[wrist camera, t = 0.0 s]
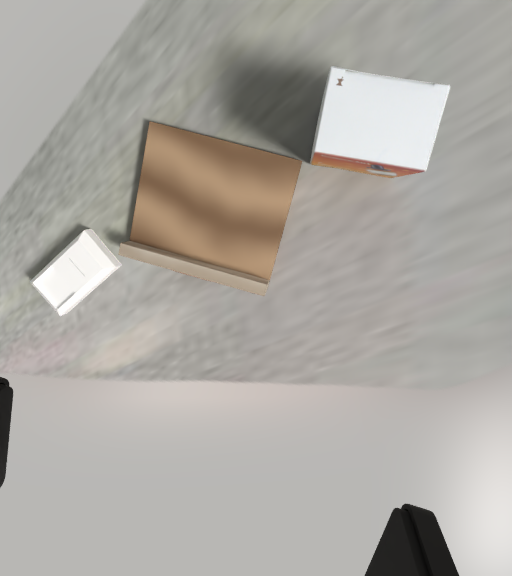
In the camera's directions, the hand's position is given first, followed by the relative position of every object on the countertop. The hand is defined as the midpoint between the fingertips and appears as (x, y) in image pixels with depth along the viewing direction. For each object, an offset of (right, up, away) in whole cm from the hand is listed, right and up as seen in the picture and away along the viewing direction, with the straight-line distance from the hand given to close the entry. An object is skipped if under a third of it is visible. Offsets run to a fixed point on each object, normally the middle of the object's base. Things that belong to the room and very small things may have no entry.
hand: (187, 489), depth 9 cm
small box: (+11, +18, +27) cm, 34 cm away
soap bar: (-18, +7, +34) cm, 39 cm away
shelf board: (-3, +13, +30) cm, 32 cm away
